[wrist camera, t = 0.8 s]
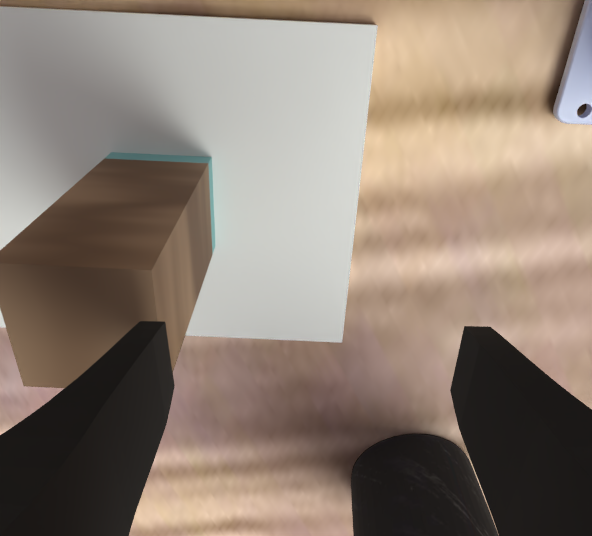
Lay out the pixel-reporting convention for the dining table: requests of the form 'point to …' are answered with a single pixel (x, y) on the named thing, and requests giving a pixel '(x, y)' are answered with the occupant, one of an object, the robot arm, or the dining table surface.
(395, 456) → the travel mug
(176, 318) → the walnut block
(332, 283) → the grey mat
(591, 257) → the dining table surface
